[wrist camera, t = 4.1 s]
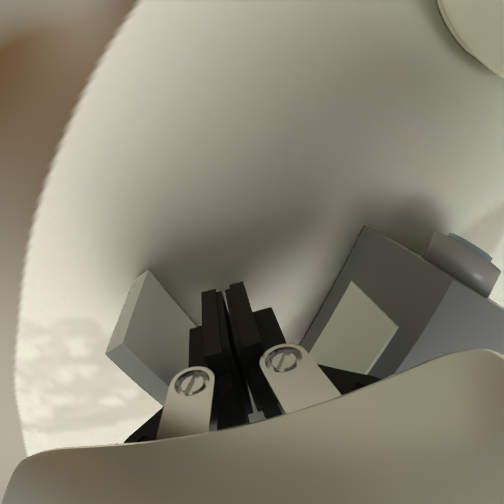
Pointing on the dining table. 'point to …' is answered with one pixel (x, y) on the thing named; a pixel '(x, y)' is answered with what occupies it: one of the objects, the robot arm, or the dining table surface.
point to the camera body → (406, 306)
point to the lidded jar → (477, 29)
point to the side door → (154, 339)
